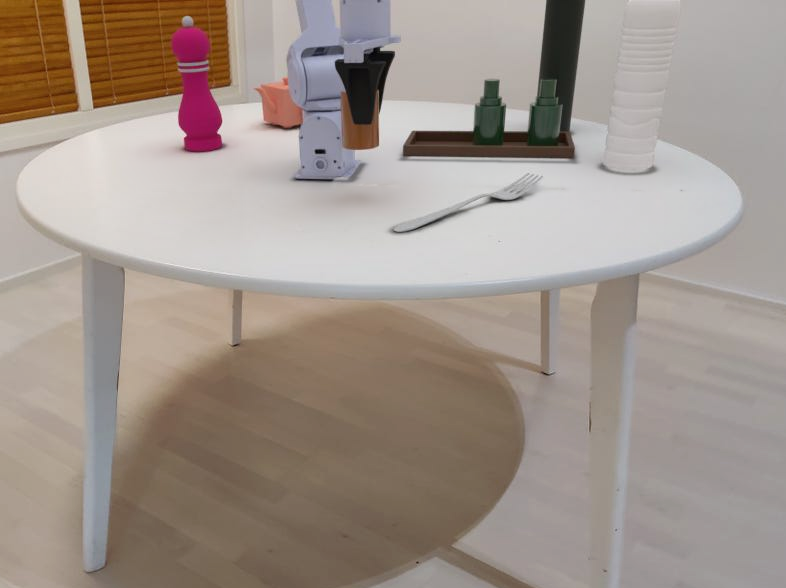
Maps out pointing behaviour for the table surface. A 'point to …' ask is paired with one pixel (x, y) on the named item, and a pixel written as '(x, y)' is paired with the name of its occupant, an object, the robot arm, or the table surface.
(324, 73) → the robot arm
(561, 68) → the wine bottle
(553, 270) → the table surface
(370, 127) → the amber bottle
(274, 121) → the teapot
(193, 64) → the pepper mill
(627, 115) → the water bottle
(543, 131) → the green bottle
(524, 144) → the tray
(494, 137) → the green bottle
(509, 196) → the fork
